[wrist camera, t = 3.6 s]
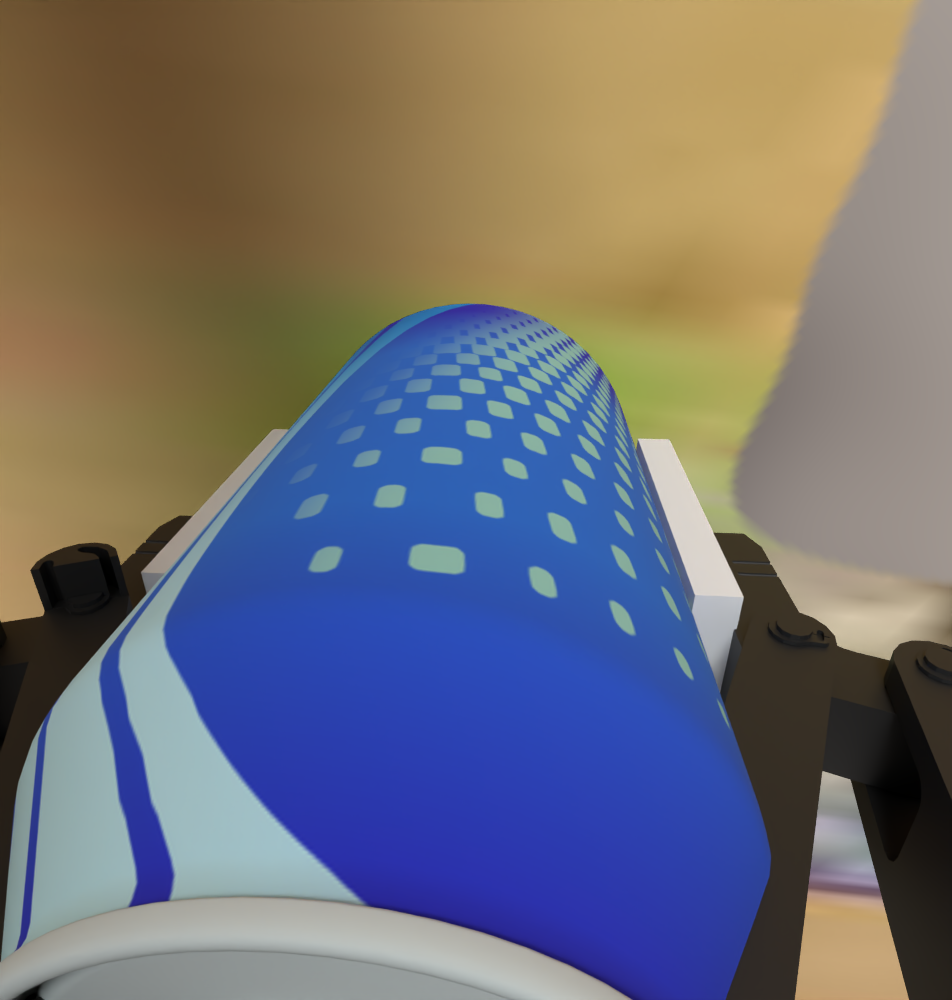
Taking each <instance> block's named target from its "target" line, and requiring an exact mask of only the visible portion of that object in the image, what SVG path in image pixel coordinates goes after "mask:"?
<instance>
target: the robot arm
mask: <svg viewBox="0 0 952 1000" xmlns="http://www.w3.org/2000/svg"><path fill="white" fill-rule="evenodd" d="M288 430H289V429H273V430H272V431H271V432H270V433H269V434H268V435H267V436H266V437H265V438H264V439H263V440H262V442H261V443H260V444H259V445H258V446H257V447H256V448H255V449H254V450H253V451H252V452H251V453H250V455H249V456H248V457H247V458H246V459H245V460H244V461H243V462H242V463H241V464H240V465H239V466H238V468H237V469H236V470H235V471H234V472H233V473H232V474H231V475H230V476H229V477H228V478H227V480H226V481H225V482H224V483H223V484H222V485H221V486H220V487H219V488H218V489H217V490H216V491H215V493H214V494H213V495H212V496H211V497H210V498H209V499H208V500H207V501H206V502H205V503H204V504H203V506H202V507H201V508H200V509H199V510H198V511H197V512H196V513H195V514H194V515H193V516H178V517H176V518H174V519H173V520H171V521H169V522H167V523H165V524H163V525H162V526H160V527H159V528H158V529H157V530H156V531H155V532H154V533H153V534H152V535H151V536H150V537H149V538H148V539H147V540H146V543H143V544H142V545H141V546H140V547H139V548H138V549H137V550H136V553H135V554H132V555H131V556H130V557H129V558H128V559H127V560H126V561H125V562H124V563H123V564H122V565H120V561H119V558H118V555H117V551H116V549H115V548H114V547H112V546H110V545H108V544H102V543H85V544H78V545H73V546H69V547H65V548H62V549H60V550H57V551H55V552H53V553H50V554H48V555H46V556H45V557H43V558H42V559H40V560H39V561H37V562H36V564H35V565H34V566H33V567H32V569H31V570H30V571H31V574H32V576H33V579H34V582H35V585H36V588H37V590H38V593H39V596H40V599H41V601H42V604H43V607H44V610H45V612H44V615H43V616H41V617H35V618H29V619H22V620H15V621H9V622H2V623H1V621H0V962H1V954H2V942H3V931H4V919H5V907H6V896H7V884H8V873H9V861H10V849H11V838H12V826H13V814H14V805H15V799H16V793H17V787H18V782H19V779H20V776H21V773H22V770H23V767H24V764H25V761H26V758H27V755H28V753H29V750H30V747H31V744H32V741H33V739H34V737H35V736H36V734H37V732H38V730H39V728H40V726H41V725H42V723H43V721H44V719H45V717H46V716H47V714H48V713H49V711H50V710H51V708H52V707H53V705H54V704H55V702H56V701H57V700H58V698H59V697H60V696H61V694H62V693H63V692H64V690H65V689H66V688H67V687H68V685H69V684H70V683H71V681H72V680H73V679H74V678H75V677H76V675H77V674H78V673H79V672H80V671H81V670H82V668H83V667H84V666H85V665H86V664H87V663H88V661H89V660H90V659H91V658H92V657H93V656H94V655H95V653H96V652H97V651H98V650H99V649H100V648H101V646H102V645H103V644H104V643H105V642H106V641H107V639H108V638H109V637H110V636H111V635H112V634H113V633H114V631H115V630H116V629H117V628H118V627H119V626H120V624H121V623H122V622H123V621H124V620H125V619H126V617H127V616H128V615H129V614H130V613H131V612H132V611H133V609H134V608H135V607H136V606H137V605H138V604H139V602H140V601H141V600H142V599H143V598H144V597H145V595H146V594H147V593H148V592H149V591H150V590H151V589H152V587H153V586H154V585H155V584H156V583H157V582H158V580H159V579H160V578H161V577H162V576H163V575H164V573H165V572H166V571H167V570H168V569H169V568H170V567H171V565H172V564H173V563H174V562H175V561H176V560H177V558H178V557H179V556H180V555H181V554H182V553H183V551H184V550H185V549H186V548H187V547H188V546H189V545H190V543H191V542H192V541H193V540H194V539H195V538H196V536H197V535H198V534H199V533H200V532H201V531H202V529H203V528H204V527H205V526H206V525H207V524H208V523H209V521H210V520H211V519H212V518H213V517H214V516H215V514H216V513H217V512H218V511H219V510H220V509H221V507H222V506H223V505H224V504H225V503H226V502H227V501H228V499H229V498H230V497H231V496H232V495H233V494H234V492H235V491H236V490H237V489H238V488H239V487H240V485H241V484H242V483H243V482H244V481H245V480H246V479H247V477H248V476H249V475H250V474H251V473H252V472H253V470H254V469H255V468H256V467H257V466H258V465H259V463H260V462H261V461H262V460H263V459H264V458H265V457H266V455H267V454H268V453H269V452H270V451H271V450H272V448H273V447H274V446H275V445H276V444H277V443H278V441H279V440H280V439H281V438H282V437H283V436H284V435H285V433H286V432H287V431H288ZM636 452H637V455H638V457H639V460H640V463H641V466H642V469H643V472H644V475H645V478H646V481H647V484H648V486H649V489H650V492H651V495H652V498H653V501H654V504H655V507H656V510H657V512H658V515H659V518H660V521H661V524H662V527H663V530H664V533H665V536H666V538H667V541H668V544H669V547H670V550H671V553H672V556H673V559H674V562H675V564H676V567H677V570H678V573H679V576H680V579H681V582H682V585H683V588H684V590H685V593H686V596H687V599H688V602H689V605H690V608H691V611H692V614H693V616H694V619H695V622H696V625H697V628H698V631H699V634H700V637H701V640H702V642H703V645H704V648H705V651H706V654H707V657H708V660H709V663H710V666H711V668H712V671H713V674H714V677H715V680H716V683H717V686H718V689H719V692H720V694H721V697H722V700H723V703H724V706H725V709H726V712H727V715H728V718H729V720H730V723H731V726H732V729H733V732H734V735H735V738H736V741H737V744H738V746H739V749H740V752H741V755H742V758H743V761H744V764H745V767H746V770H747V773H748V775H749V778H750V781H751V784H752V787H753V790H754V793H755V796H756V799H757V801H758V804H759V808H760V811H761V815H762V818H763V822H764V825H765V829H766V833H767V837H768V842H769V847H770V853H771V864H770V876H769V879H768V882H767V885H766V887H765V890H764V893H763V896H762V899H761V902H760V905H759V908H758V911H757V914H756V917H755V920H754V922H753V925H752V928H751V931H750V933H749V936H748V939H747V942H746V944H745V947H744V950H743V953H742V955H741V958H740V961H739V964H738V966H737V969H736V972H735V975H734V977H733V980H732V983H731V986H730V988H729V991H728V994H727V997H726V999H725V1000H795V992H796V984H797V976H798V967H799V959H800V951H801V942H802V934H803V926H804V918H805V909H806V901H807V893H808V884H809V876H810V868H811V860H812V851H813V843H814V835H815V826H816V818H817V810H818V801H819V793H820V785H821V777H822V771H825V772H828V773H831V774H835V775H838V776H841V777H844V778H848V779H851V783H852V786H853V790H854V794H855V798H856V801H857V805H858V809H859V813H860V816H861V820H862V824H863V828H864V831H865V835H866V839H867V843H868V847H869V850H870V854H871V858H872V862H873V865H874V869H875V873H876V877H877V880H878V884H879V888H880V892H881V895H882V899H883V903H884V907H885V910H886V914H887V918H888V922H889V926H890V929H891V933H892V937H893V941H894V944H895V948H896V952H897V956H898V959H899V963H900V967H901V971H902V974H903V978H904V982H905V986H906V989H907V993H908V997H909V1000H952V647H949V646H947V645H942V644H938V643H934V642H930V641H909V642H905V643H902V644H899V645H898V647H897V648H896V649H895V650H894V651H893V654H892V657H891V659H890V661H889V660H885V659H881V658H877V657H873V656H869V655H865V654H861V653H856V652H853V651H850V650H847V649H843V648H841V647H839V646H837V643H836V639H835V636H834V635H833V633H832V632H831V631H830V630H829V629H828V628H827V627H826V626H825V625H823V624H822V623H820V622H819V621H817V620H816V619H814V618H812V617H810V616H807V615H804V614H802V613H799V612H798V610H797V608H796V606H795V605H794V603H793V601H792V599H791V598H790V596H789V594H788V592H787V591H786V589H785V587H784V585H783V584H782V582H781V580H780V579H779V577H777V573H776V572H775V570H774V568H773V566H772V565H770V561H769V559H768V558H767V556H766V554H765V552H764V551H763V549H762V547H761V546H759V545H758V544H757V543H755V542H754V541H753V540H751V539H750V538H749V537H747V536H746V535H745V534H735V533H713V531H712V529H711V527H710V525H709V522H708V520H707V518H706V516H705V514H704V512H703V510H702V508H701V506H700V503H699V501H698V499H697V497H696V495H695V493H694V491H693V489H692V486H691V484H690V482H689V480H688V478H687V476H686V474H685V472H684V469H683V467H682V465H681V463H680V461H679V459H678V457H677V455H676V453H675V450H674V448H673V446H672V444H671V442H670V440H667V439H638V443H637V451H636ZM36 996H37V995H36V994H35V993H34V994H32V995H29V996H28V997H27V998H26V999H25V1000H45V999H43V998H42V997H37V998H36Z"/></svg>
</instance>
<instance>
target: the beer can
mask: <svg viewBox="0 0 952 1000" xmlns="http://www.w3.org/2000/svg"><path fill="white" fill-rule="evenodd" d="M770 864H771V853H770V847H769V842H768V837H767V833H766V829H765V825H764V822H763V818H762V815H761V811H760V808H759V804H758V801H757V799H756V796H755V793H754V790H753V787H752V784H751V781H750V778H749V775H748V773H747V770H746V767H745V764H744V761H743V758H742V755H741V752H740V749H739V746H738V744H737V741H736V738H735V735H734V732H733V729H732V726H731V723H730V720H729V718H728V715H727V712H726V709H725V706H724V703H723V700H722V697H721V694H720V692H719V689H718V686H717V683H716V680H715V677H714V674H713V671H712V668H711V666H710V663H709V660H708V657H707V654H706V651H705V648H704V645H703V642H702V640H701V637H700V634H699V631H698V628H697V625H696V622H695V619H694V616H693V614H692V611H691V608H690V605H689V602H688V599H687V596H686V593H685V590H684V588H683V585H682V582H681V579H680V576H679V573H678V570H677V567H676V564H675V562H674V559H673V556H672V553H671V550H670V547H669V544H668V541H667V538H666V536H665V533H664V530H663V527H662V524H661V521H660V518H659V515H658V512H657V510H656V507H655V504H654V501H653V498H652V495H651V492H650V489H649V486H648V484H647V481H646V478H645V475H644V472H643V469H642V466H641V463H640V460H639V457H638V455H637V452H636V449H635V446H634V443H633V440H632V437H631V434H630V431H629V429H628V426H627V423H626V420H625V417H624V414H623V411H622V408H621V405H620V403H619V401H618V398H617V396H616V394H615V391H614V389H613V388H612V386H611V384H610V382H609V380H608V379H607V377H606V375H605V374H604V373H603V371H602V370H601V368H600V367H599V366H598V364H597V363H596V362H595V361H594V360H593V359H592V357H591V356H590V355H589V354H588V353H587V352H586V351H585V350H584V349H583V348H582V347H581V346H580V345H579V344H577V343H576V342H575V341H574V340H573V339H571V338H570V337H569V336H567V335H566V334H565V333H563V332H562V331H560V330H558V329H557V328H555V327H553V326H552V325H550V324H548V323H546V322H544V321H542V320H540V319H538V318H536V317H534V316H531V315H528V314H526V313H523V312H520V311H517V310H513V309H509V308H505V307H500V306H493V305H486V304H454V305H447V306H440V307H435V308H431V309H427V310H423V311H420V312H417V313H414V314H412V315H409V316H407V317H404V318H402V319H400V320H398V321H396V322H394V323H392V324H390V325H389V326H387V327H386V328H384V329H383V330H381V331H379V332H378V333H377V334H375V335H374V336H373V337H372V338H370V339H369V340H368V341H367V342H365V343H364V344H363V345H362V346H361V347H360V348H359V349H358V350H357V351H356V352H355V353H354V355H353V356H352V357H351V358H350V359H349V360H348V362H347V363H346V364H345V365H344V366H343V367H342V369H341V370H340V371H339V372H338V373H337V374H336V375H335V377H334V378H333V379H332V380H331V381H330V382H329V384H328V385H327V386H326V387H325V388H324V389H323V391H322V392H321V393H320V394H319V395H318V396H317V397H316V399H315V400H314V401H313V402H312V403H311V404H310V406H309V407H308V408H307V409H306V410H305V411H304V413H303V414H302V415H301V416H300V417H299V418H298V419H297V421H296V422H295V423H294V424H293V425H292V426H291V428H290V429H289V430H288V431H287V432H286V433H285V435H284V436H283V437H282V438H281V439H280V440H279V441H278V443H277V444H276V445H275V446H274V447H273V448H272V450H271V451H270V452H269V453H268V454H267V455H266V457H265V458H264V459H263V460H262V461H261V462H260V463H259V465H258V466H257V467H256V468H255V469H254V470H253V472H252V473H251V474H250V475H249V476H248V477H247V479H246V480H245V481H244V482H243V483H242V484H241V485H240V487H239V488H238V489H237V490H236V491H235V492H234V494H233V495H232V496H231V497H230V498H229V499H228V501H227V502H226V503H225V504H224V505H223V506H222V507H221V509H220V510H219V511H218V512H217V513H216V514H215V516H214V517H213V518H212V519H211V520H210V521H209V523H208V524H207V525H206V526H205V527H204V528H203V529H202V531H201V532H200V533H199V534H198V535H197V536H196V538H195V539H194V540H193V541H192V542H191V543H190V545H189V546H188V547H187V548H186V549H185V550H184V551H183V553H182V554H181V555H180V556H179V557H178V558H177V560H176V561H175V562H174V563H173V564H172V565H171V567H170V568H169V569H168V570H167V571H166V572H165V573H164V575H163V576H162V577H161V578H160V579H159V580H158V582H157V583H156V584H155V585H154V586H153V587H152V589H151V590H150V591H149V592H148V593H147V594H146V595H145V597H144V598H143V599H142V600H141V601H140V602H139V604H138V605H137V606H136V607H135V608H134V609H133V611H132V612H131V613H130V614H129V615H128V616H127V617H126V619H125V620H124V621H123V622H122V623H121V624H120V626H119V627H118V628H117V629H116V630H115V631H114V633H113V634H112V635H111V636H110V637H109V638H108V639H107V641H106V642H105V643H104V644H103V645H102V646H101V648H100V649H99V650H98V651H97V652H96V653H95V655H94V656H93V657H92V658H91V659H90V660H89V661H88V663H87V664H86V665H85V666H84V667H83V668H82V670H81V671H80V672H79V673H78V674H77V675H76V677H75V678H74V679H73V680H72V681H71V683H70V684H69V685H68V687H67V688H66V689H65V690H64V692H63V693H62V694H61V696H60V697H59V698H58V700H57V701H56V702H55V704H54V705H53V707H52V708H51V710H50V711H49V713H48V714H47V716H46V717H45V719H44V721H43V723H42V725H41V726H40V728H39V730H38V732H37V734H36V736H35V737H34V739H33V741H32V744H31V747H30V750H29V753H28V755H27V758H26V761H25V764H24V767H23V770H22V773H21V776H20V779H19V782H18V787H17V793H16V799H15V805H14V814H13V826H12V838H11V849H10V861H9V873H8V884H7V896H6V907H5V919H4V931H3V942H2V954H1V962H0V1000H25V999H26V998H27V997H28V996H29V995H32V994H34V993H35V994H36V995H37V996H36V998H37V997H42V998H43V999H45V1000H725V999H726V997H727V994H728V991H729V988H730V986H731V983H732V980H733V977H734V975H735V972H736V969H737V966H738V964H739V961H740V958H741V955H742V953H743V950H744V947H745V944H746V942H747V939H748V936H749V933H750V931H751V928H752V925H753V922H754V920H755V917H756V914H757V911H758V908H759V905H760V902H761V899H762V896H763V893H764V890H765V887H766V885H767V882H768V879H769V876H770Z"/></svg>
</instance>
